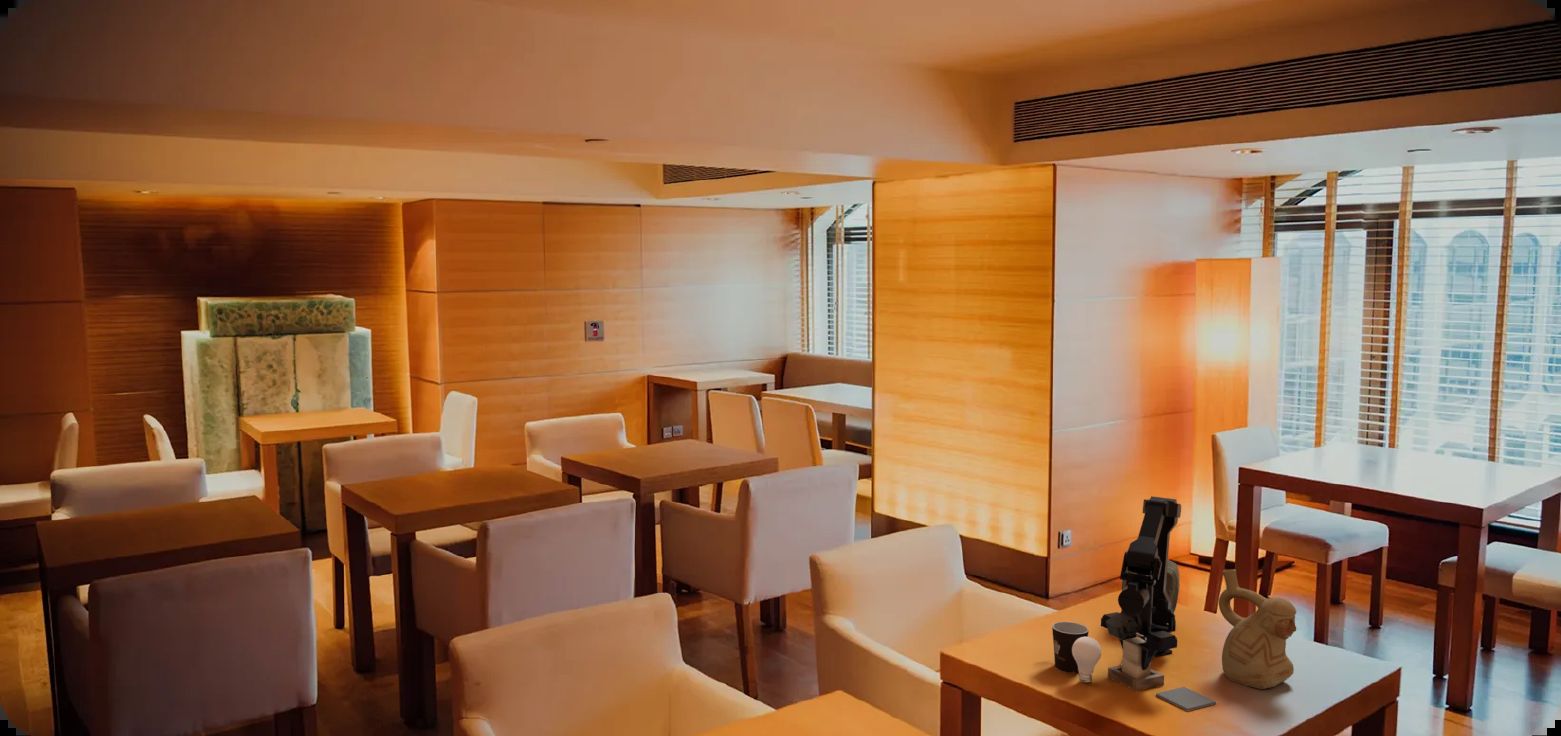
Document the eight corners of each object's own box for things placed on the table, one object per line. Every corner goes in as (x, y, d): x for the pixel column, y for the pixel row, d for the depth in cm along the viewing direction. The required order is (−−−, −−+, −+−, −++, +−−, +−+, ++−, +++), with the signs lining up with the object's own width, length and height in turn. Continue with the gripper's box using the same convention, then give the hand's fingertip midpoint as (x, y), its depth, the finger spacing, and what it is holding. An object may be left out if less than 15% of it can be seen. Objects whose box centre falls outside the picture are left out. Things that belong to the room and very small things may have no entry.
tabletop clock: (1177, 623, 282) (1182, 535, 279) (1175, 634, 274) (1180, 542, 271) (1122, 615, 288) (1126, 528, 285) (1119, 625, 279) (1123, 536, 277)
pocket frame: (1134, 670, 248) (1135, 661, 247) (1163, 684, 240) (1164, 674, 240) (1107, 676, 244) (1108, 667, 243) (1136, 690, 236) (1136, 681, 236)
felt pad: (1183, 688, 237) (1184, 686, 237) (1216, 703, 229) (1216, 701, 229) (1155, 695, 233) (1156, 693, 233) (1187, 711, 225) (1187, 708, 225)
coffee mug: (1088, 675, 244) (1090, 635, 243) (1051, 672, 246) (1053, 632, 245) (1084, 658, 255) (1086, 619, 254) (1048, 654, 257) (1050, 616, 256)
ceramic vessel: (1270, 700, 232) (1277, 593, 229) (1194, 671, 248) (1200, 570, 246) (1313, 685, 240) (1320, 582, 238) (1237, 658, 257) (1243, 561, 255)
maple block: (1135, 673, 245) (1137, 636, 244) (1149, 680, 241) (1151, 643, 240) (1121, 676, 243) (1123, 639, 242) (1135, 683, 239) (1137, 646, 238)
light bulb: (1095, 690, 235) (1097, 644, 234) (1066, 684, 239) (1069, 638, 238) (1103, 681, 241) (1105, 636, 240) (1075, 674, 244) (1077, 630, 243)
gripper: (1085, 594, 244) (1082, 657, 246) (1145, 618, 228) (1141, 686, 229) (1119, 588, 250) (1116, 650, 251) (1180, 611, 233) (1177, 677, 235)
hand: (1136, 665), depth 241 cm, fingers closed on maple block, 4 cm apart
